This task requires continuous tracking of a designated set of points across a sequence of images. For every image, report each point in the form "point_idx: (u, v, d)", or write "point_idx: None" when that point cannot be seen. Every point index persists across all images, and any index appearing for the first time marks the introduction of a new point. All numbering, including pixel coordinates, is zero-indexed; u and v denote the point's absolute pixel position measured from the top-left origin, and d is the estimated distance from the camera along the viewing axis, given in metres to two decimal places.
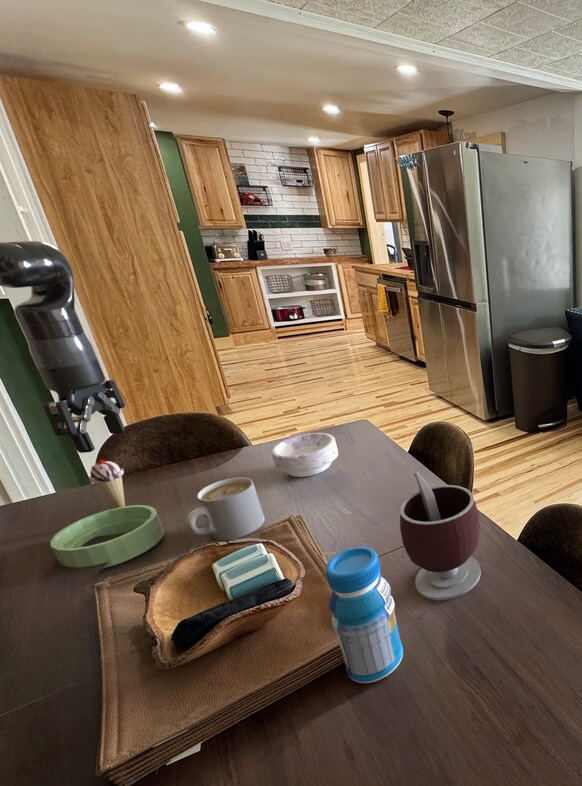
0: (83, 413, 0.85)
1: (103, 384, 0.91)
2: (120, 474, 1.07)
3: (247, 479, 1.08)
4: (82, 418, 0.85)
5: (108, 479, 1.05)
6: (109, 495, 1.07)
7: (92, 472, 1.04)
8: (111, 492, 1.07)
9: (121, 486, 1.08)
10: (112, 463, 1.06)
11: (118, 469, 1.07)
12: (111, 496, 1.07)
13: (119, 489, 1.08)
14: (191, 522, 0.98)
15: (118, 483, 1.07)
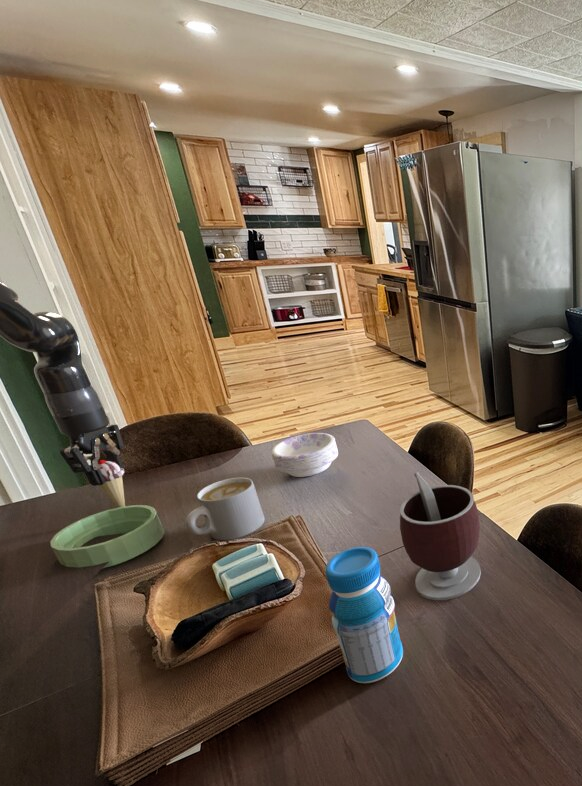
0: (93, 453, 1.02)
1: (108, 427, 1.08)
2: (120, 474, 1.07)
3: (247, 479, 1.08)
4: (93, 458, 1.02)
5: (108, 479, 1.05)
6: (109, 495, 1.07)
7: None
8: (111, 492, 1.07)
9: (121, 486, 1.08)
10: (112, 463, 1.06)
11: (118, 469, 1.07)
12: (111, 496, 1.07)
13: (119, 489, 1.08)
14: (191, 522, 0.98)
15: (118, 483, 1.07)
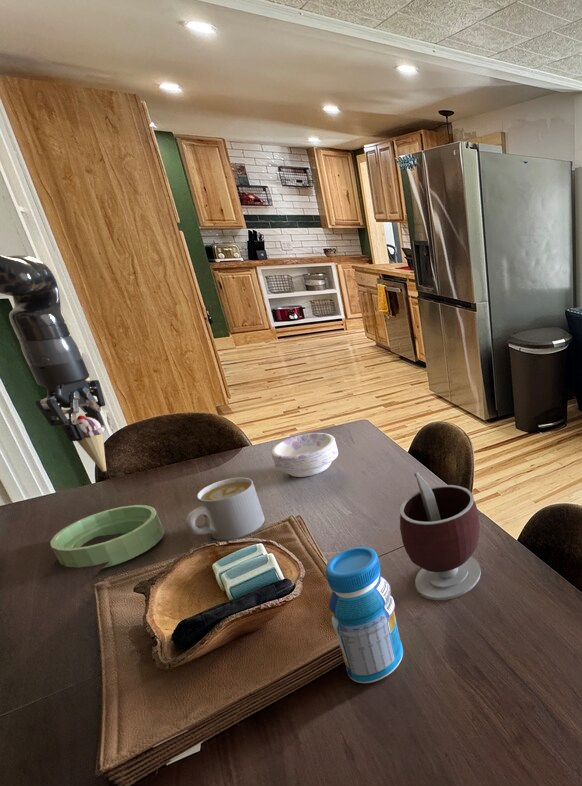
0: (71, 407, 0.98)
1: (88, 382, 1.03)
2: (101, 431, 1.03)
3: (247, 479, 1.08)
4: (71, 411, 0.98)
5: (88, 435, 1.01)
6: (89, 453, 1.03)
7: None
8: (91, 449, 1.03)
9: (102, 444, 1.04)
10: (93, 419, 1.02)
11: (99, 426, 1.03)
12: (91, 454, 1.03)
13: (100, 447, 1.04)
14: (191, 522, 0.98)
15: (99, 440, 1.03)
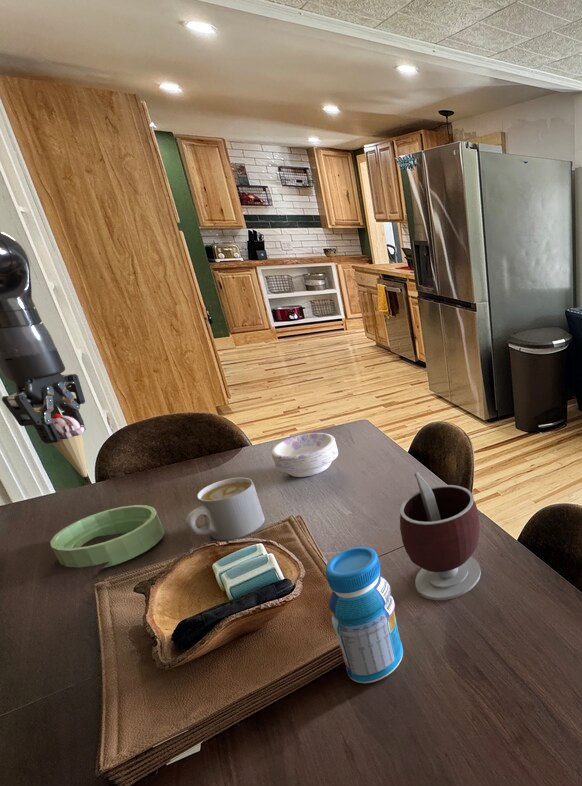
0: (45, 404, 0.86)
1: (65, 377, 0.92)
2: (80, 431, 0.91)
3: (247, 479, 1.08)
4: (45, 409, 0.86)
5: (65, 436, 0.89)
6: (67, 456, 0.91)
7: None
8: (69, 452, 0.91)
9: (81, 446, 0.92)
10: (70, 418, 0.91)
11: (78, 425, 0.91)
12: (69, 457, 0.91)
13: (79, 449, 0.92)
14: (191, 522, 0.98)
15: (78, 442, 0.91)
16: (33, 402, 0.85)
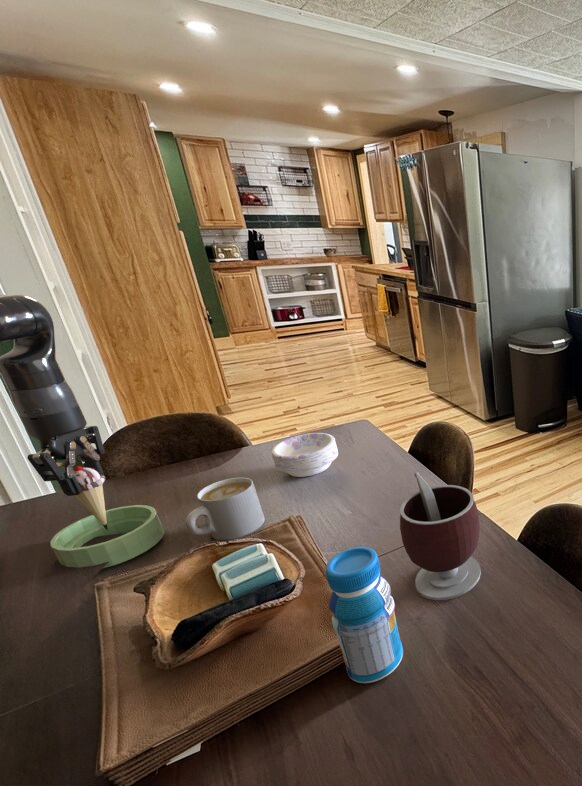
0: (67, 459, 0.89)
1: (86, 429, 0.95)
2: (100, 482, 0.94)
3: (247, 479, 1.08)
4: (67, 464, 0.89)
5: (86, 488, 0.92)
6: (87, 506, 0.94)
7: None
8: (90, 503, 0.94)
9: (101, 496, 0.95)
10: (91, 470, 0.93)
11: (98, 476, 0.94)
12: (90, 507, 0.94)
13: (99, 499, 0.95)
14: (191, 522, 0.98)
15: (98, 492, 0.94)
16: (56, 457, 0.88)
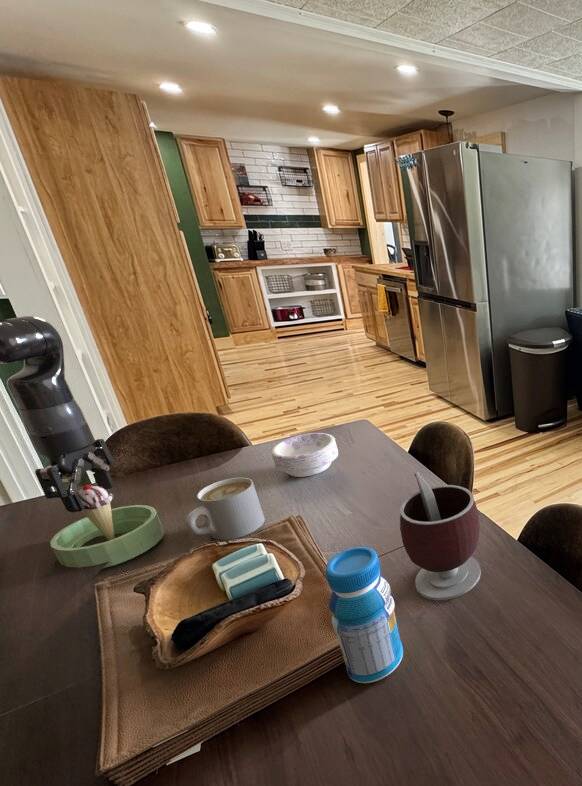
0: (73, 475, 0.90)
1: (93, 443, 0.96)
2: (108, 500, 0.95)
3: (247, 479, 1.08)
4: (72, 480, 0.89)
5: (94, 507, 0.93)
6: (96, 524, 0.96)
7: None
8: (98, 520, 0.95)
9: (109, 513, 0.97)
10: (99, 488, 0.95)
11: (106, 495, 0.96)
12: (98, 525, 0.96)
13: (107, 517, 0.96)
14: (191, 522, 0.98)
15: (106, 510, 0.96)
16: (63, 474, 0.89)
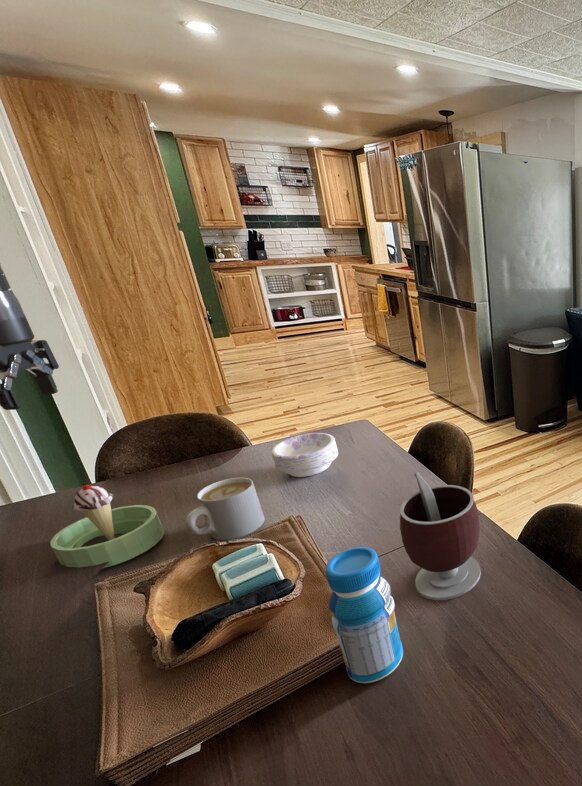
0: (8, 370, 0.85)
1: (34, 343, 0.91)
2: (108, 500, 0.95)
3: (247, 479, 1.08)
4: (7, 375, 0.85)
5: (94, 507, 0.93)
6: (96, 524, 0.96)
7: (76, 499, 0.93)
8: (98, 520, 0.95)
9: (109, 513, 0.97)
10: (99, 488, 0.95)
11: (106, 495, 0.96)
12: (98, 525, 0.96)
13: (107, 517, 0.96)
14: (191, 522, 0.98)
15: (106, 510, 0.96)
16: None
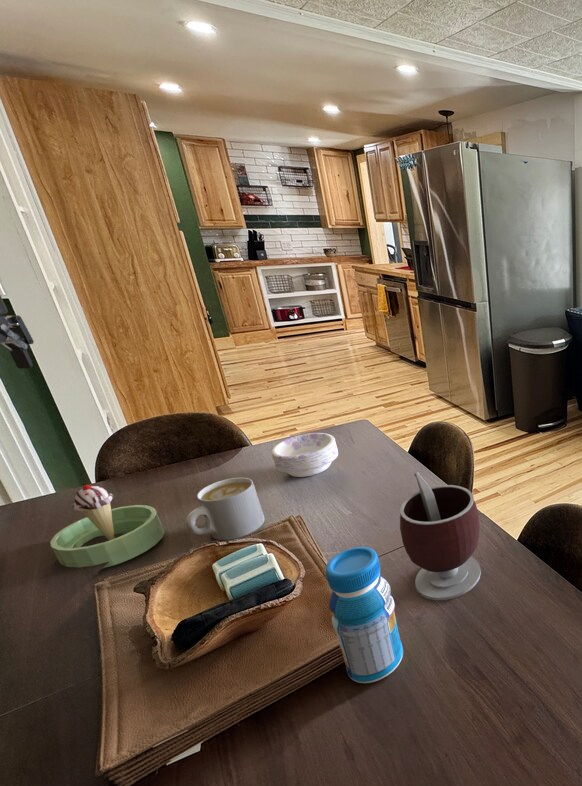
0: None
1: (8, 319, 0.94)
2: (108, 500, 0.95)
3: (247, 479, 1.08)
4: None
5: (94, 507, 0.93)
6: (96, 524, 0.96)
7: (76, 499, 0.93)
8: (98, 520, 0.95)
9: (109, 513, 0.97)
10: (99, 488, 0.95)
11: (106, 495, 0.96)
12: (98, 525, 0.96)
13: (107, 517, 0.96)
14: (191, 522, 0.98)
15: (106, 510, 0.96)
16: None
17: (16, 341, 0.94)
